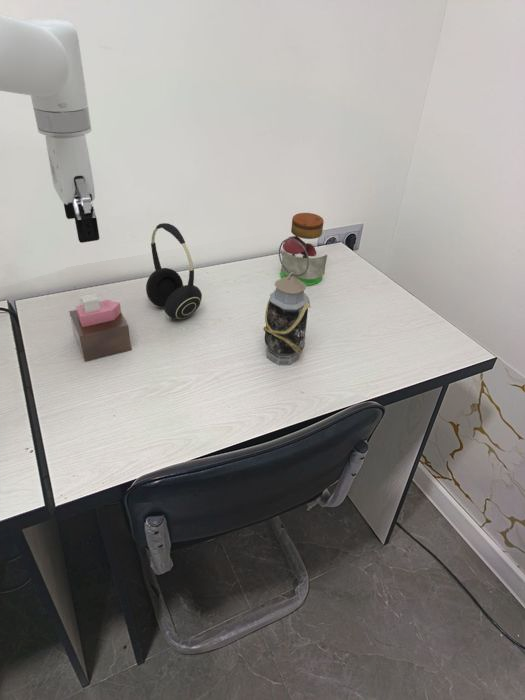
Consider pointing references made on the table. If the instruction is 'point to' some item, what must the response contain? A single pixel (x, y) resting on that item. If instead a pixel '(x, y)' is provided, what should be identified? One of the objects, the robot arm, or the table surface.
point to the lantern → (286, 318)
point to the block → (101, 337)
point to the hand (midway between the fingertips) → (82, 228)
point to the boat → (97, 310)
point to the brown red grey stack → (307, 229)
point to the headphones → (172, 283)
